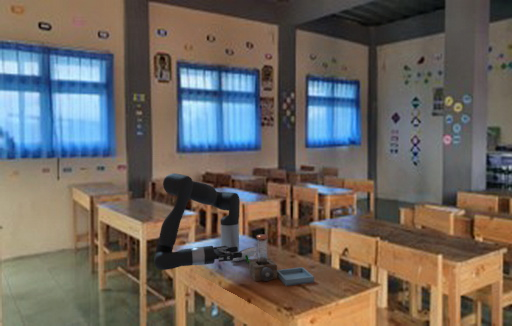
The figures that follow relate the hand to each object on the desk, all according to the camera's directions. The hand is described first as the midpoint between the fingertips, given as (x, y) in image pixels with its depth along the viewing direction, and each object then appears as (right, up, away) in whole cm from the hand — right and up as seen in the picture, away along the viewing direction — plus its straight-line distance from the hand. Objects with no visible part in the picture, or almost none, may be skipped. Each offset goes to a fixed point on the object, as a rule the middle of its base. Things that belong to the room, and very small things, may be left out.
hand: (239, 251), depth 178 cm
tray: (+24, -12, -1) cm, 27 cm away
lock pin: (+10, -8, +3) cm, 14 cm away
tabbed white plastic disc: (+2, -10, +23) cm, 25 cm away
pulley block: (+11, -12, +3) cm, 16 cm away
